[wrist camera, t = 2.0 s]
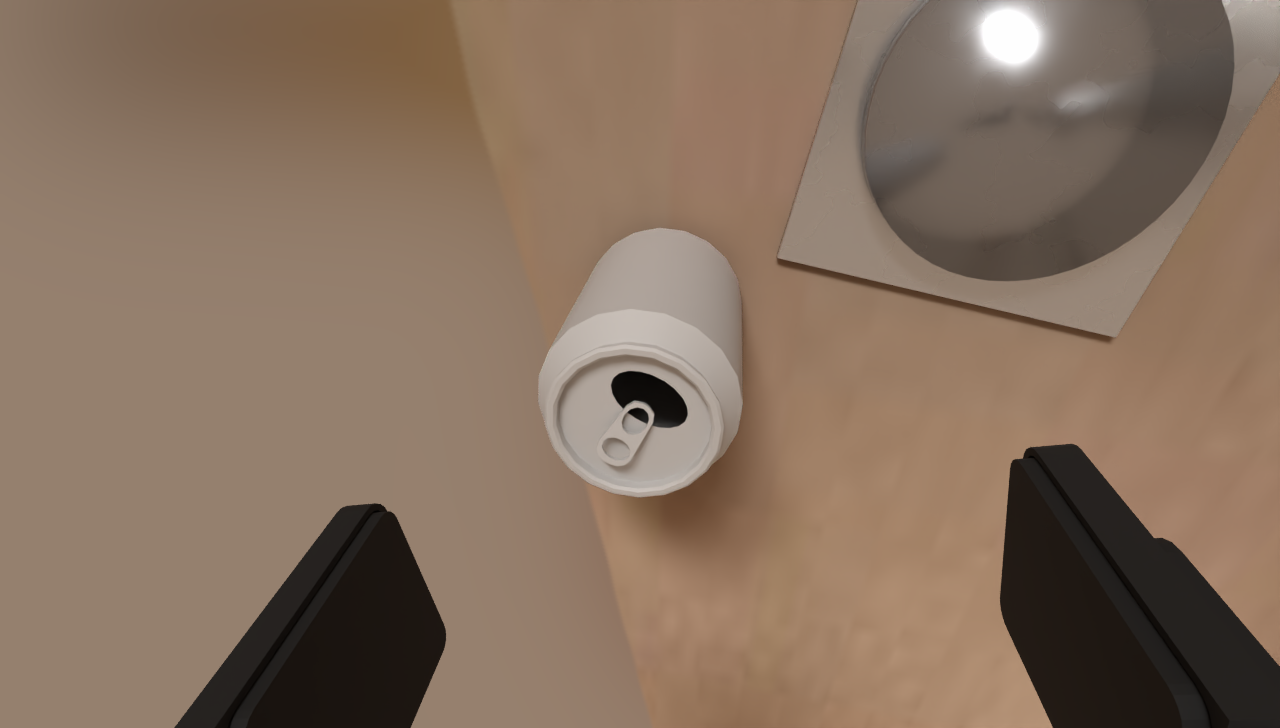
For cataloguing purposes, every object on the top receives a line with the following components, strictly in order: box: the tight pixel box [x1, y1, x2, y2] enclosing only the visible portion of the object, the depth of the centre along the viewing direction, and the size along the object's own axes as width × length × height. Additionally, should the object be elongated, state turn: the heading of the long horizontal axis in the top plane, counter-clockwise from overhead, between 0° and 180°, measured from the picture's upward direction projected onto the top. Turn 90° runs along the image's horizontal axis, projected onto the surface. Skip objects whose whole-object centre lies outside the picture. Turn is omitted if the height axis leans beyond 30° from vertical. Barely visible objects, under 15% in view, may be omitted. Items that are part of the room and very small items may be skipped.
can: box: [538, 228, 743, 498], centre depth 28 cm, size 8×8×12 cm
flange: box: [777, 0, 1280, 338], centre depth 27 cm, size 16×16×2 cm
